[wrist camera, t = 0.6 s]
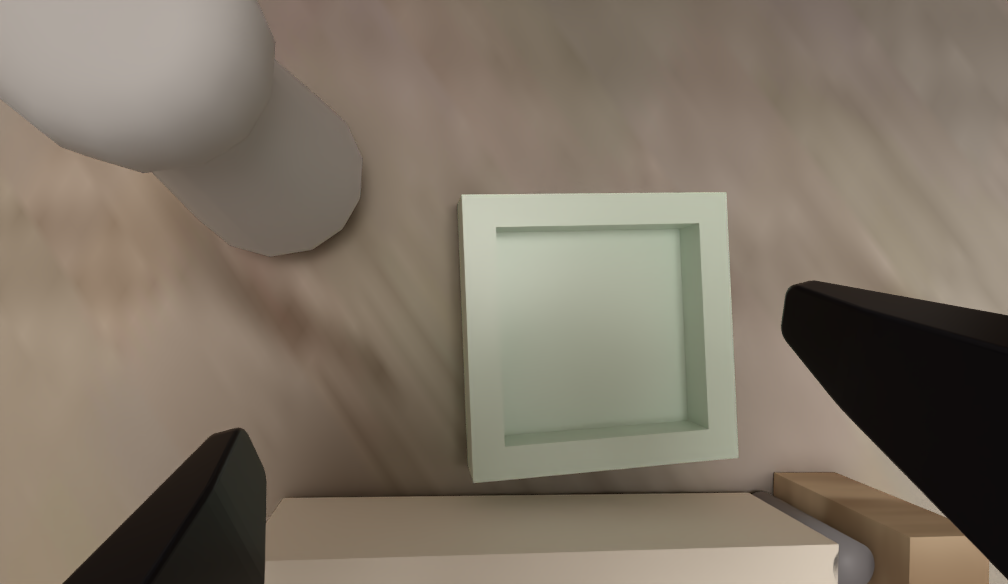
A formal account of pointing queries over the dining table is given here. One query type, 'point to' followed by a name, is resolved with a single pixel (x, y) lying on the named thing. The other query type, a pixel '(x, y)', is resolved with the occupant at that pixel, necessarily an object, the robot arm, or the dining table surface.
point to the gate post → (887, 530)
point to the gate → (558, 541)
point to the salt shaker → (187, 111)
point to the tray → (595, 332)
